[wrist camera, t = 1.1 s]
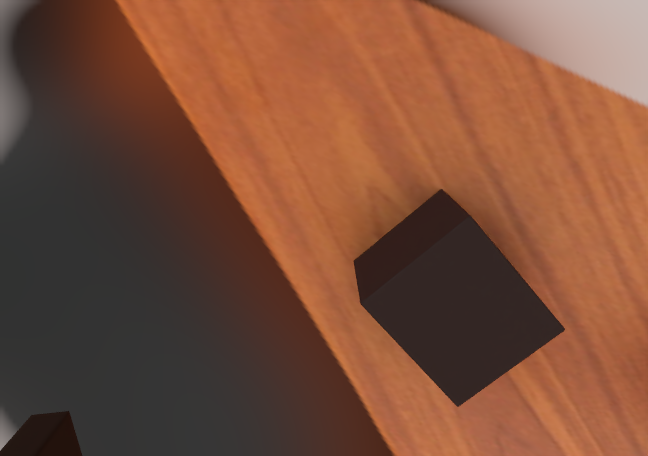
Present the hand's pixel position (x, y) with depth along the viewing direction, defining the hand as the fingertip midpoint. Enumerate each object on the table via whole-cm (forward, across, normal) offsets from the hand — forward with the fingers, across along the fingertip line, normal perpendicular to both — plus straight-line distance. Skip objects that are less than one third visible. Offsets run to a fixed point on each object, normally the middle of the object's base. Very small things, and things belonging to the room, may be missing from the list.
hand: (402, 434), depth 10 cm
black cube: (+17, +4, -4) cm, 18 cm away
